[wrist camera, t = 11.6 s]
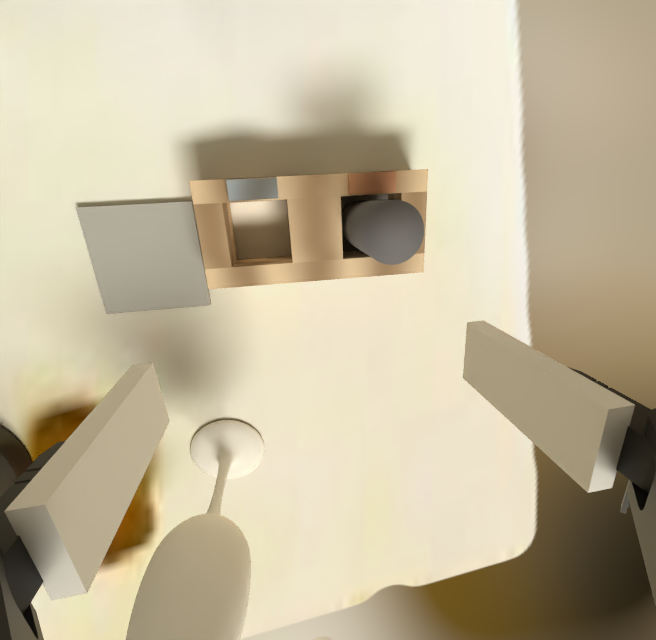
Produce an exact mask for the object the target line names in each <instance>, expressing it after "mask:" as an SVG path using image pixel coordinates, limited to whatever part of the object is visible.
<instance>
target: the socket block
mask: <svg viewBox="0 0 656 640" xmlns="http://www.w3.org/2000/svg"><path fill="white" fill-rule="evenodd" d="M427 180H428V169H422V170H401V171H381V172H360V173H340V174H319V175H299V176H278V177H257V178H237V179H216V180H196V181H189V183H190V188H191V194H192V200H193V205H194V211H195V216H196V222H197V228H198V233H199V239H200V244H201V250H202V256H203V261H204V267H205V272H206V278H207V284H208V289H217V288H230V287H243V286H255V285H268V284H280V283H293V282H306V281H318V280H331V279H343V278H356V277H369V276H381V275H394V274H407V273H419V272H423V270H424V247H425V225H426V202H427ZM378 194H388V200H401V201H405V202H408V203H410V204H411V205H413V206H414V207H415V208H416V209H417V210H418V211H419V213H420V215H421V217H422V219H423V223H424V237H423V241H422V244H421V246H420V248H419V249H418V251H417V252H416V253H415V255H413V256H412V257H411V258H410V259H409V260H407V261H405V262H403V263H400V264H396V265H387V264H383V263H380V262H378V261H376V260H375V259H373V258H372V257H370V256H369V255H367V254H365V253H364V252H362V251H356V252H343V244H342V217H341V197H342V196H360V195H378ZM269 200H287V208H288V219H289V230H290V241H291V253H292V256H286V257H273V258H259V259H245V260H238V259H237V253H236V246H235V239H234V232H233V225H232V218H231V211H230V204H229V203H233V202H251V201H269Z"/></svg>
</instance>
